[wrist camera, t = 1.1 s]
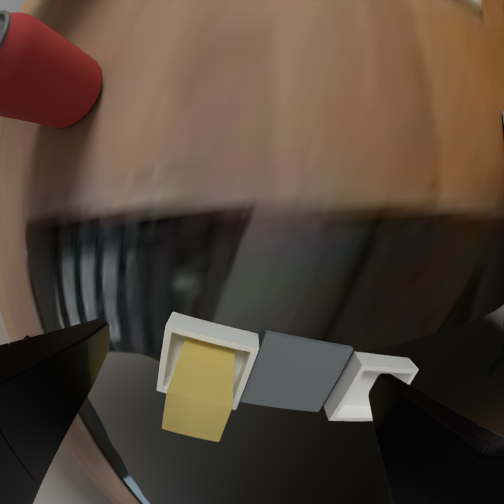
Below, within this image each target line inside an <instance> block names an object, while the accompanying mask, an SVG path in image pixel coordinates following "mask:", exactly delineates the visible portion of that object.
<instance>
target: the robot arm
mask: <svg viewBox="0 0 504 504" xmlns="http://www.w3.org/2000/svg"><path fill="white" fill-rule="evenodd" d="M109 346H110V340H109V324H108V323H107V322H104V321H101V320H98V319H96V320H92V321H88V322H85V323H81V324H78V325H74V326H71V327H67V328H63V329H60V330H56V331H52V332H49V333H45V334H41V335H37V336H34V337H29V336H26V337H24V339H22V340H19V341H15V342H11V343H9V344H8V343H7V344H3V345H0V504H33V502H34V499H35V497H36V495H37V493H38V490H39V488H40V486H41V483H42V481H43V479H44V477H45V475H46V473H47V471H48V468H49V466H50V464H51V462H52V460H53V458H54V456H55V454H56V452H57V450H58V448H59V446H60V444H61V442H62V441H63V439H64V437H65V435H66V433H67V431H68V429H69V428H70V426H71V424H72V422H73V420H74V418H75V417H76V415H77V413H78V411H79V409H80V408H81V406H82V404H83V402H84V401H85V399H86V397H87V396H88V394H89V392H90V390H91V388H92V386H93V384H94V382H95V380H96V378H97V375H98V373H99V371H100V368H101V366H102V364H103V361H104V359H105V357H106V355H107V353H108V350H109ZM368 397H369V403H370V408H371V413H372V419H373V425H374V430H375V434H376V438H377V442H378V445H379V449H380V453H381V456H382V460H383V464H384V468H385V472H386V476H387V480H388V484H389V489H390V493H391V498H392V502H393V504H504V436H502V435H500V434H497V433H495V432H493V431H491V430H489V429H486V428H484V427H482V426H480V425H478V424H476V423H475V422H473V421H471V420H469V419H467V418H465V417H464V416H461V415H460V414H458V413H456V412H455V411H453V410H451V409H449V408H448V407H446V406H444V405H443V404H441V403H439V402H437V401H435V400H434V399H432V398H430V397H429V396H427V395H425V394H424V393H422V392H420V391H419V390H417V389H415V388H414V387H412V386H410V385H409V384H407V383H405V382H404V381H402V380H400V379H399V378H397V377H395V376H394V375H392V374H389V373H381V374H379V375H378V377H377V378H376V380H375V382H374V384H373V385H372V387H371V389H370V391H369V395H368Z"/></svg>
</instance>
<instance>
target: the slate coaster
mask: <svg viewBox="0 0 504 504" xmlns="http://www.w3.org/2000/svg"><path fill="white" fill-rule="evenodd" d="M352 351H353V348H352V346H348V345H342V344H336V343H330V342H324V341H319V340H313V339H308V338H303V337H298V336H293V335H288V334H283V333H278V332H274V331H269V330H265V333H264V336H263V338H262V341H261V344H260V347H259V350H258V353H257V356H256V359H255V361H254V364H253V367H252V369H251V372H250V375H249V377H248V380H247V382H246V385H245V388H244V390H243V393H242V395H241V398H240V402H244V403H250V404H256V405H262V406H269V407H277V408H284V409H292V410H302V411H313V412H318V411H319V410H320V408H321V407H322V405H323V403H324V401H325V400H326V398H327V396H328V395H329V393H330V392H331V390H332V388H333V386H334V384H335V383H336V381H337V379H338V377H339V376H340V374H341V372H342V370H343V368H344V366H345V364H346V363H347V361H348V359H349V357H350V355H351V353H352Z"/></svg>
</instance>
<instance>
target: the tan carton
mask: <svg viewBox="0 0 504 504" xmlns="http://www.w3.org/2000/svg"><path fill="white" fill-rule="evenodd" d="M234 356H235V349H234V348H230V347H225V346H221V345H217V344H213V343H209V342H205V341H202V340H198V339H194V338H191V337H187V336H186V338H185V341H184V343H183V346H182V349H181V352H180V355H179V358H178V361H177V364H176V366H175V369H174V372H173V375H172V378H171V381H170V384H169V387H168V390H167V395H166V402H165V409H164V416H163V423H162V429H165V430H169V431H172V432H176V433H180V434H184V435H188V436H192V437H196V438H201V439H206V440H210V441H215V442H219V440H220V438H221V435H222V433H223V430H224V427H225V425H226V423H227V420H228V417H229V415H230V412H231V410H232V404H233V379H234Z"/></svg>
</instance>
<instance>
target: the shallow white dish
mask: <svg viewBox="0 0 504 504" xmlns="http://www.w3.org/2000/svg"><path fill="white" fill-rule="evenodd" d="M186 336H187V337H191V338H194V339H198V340H202V341H205V342H209V343H213V344H217V345H221V346H225V347H230V348H234V349H235V356H234V379H233V404H232V409H234V410H236V408H237V405H238V403H239V401H240V398H241V395H242V393H243V390H244V388H245V385H246V382H247V380H248V377H249V375H250V372H251V369H252V367H253V364H254V361H255V359H256V356H257V353H258V350H259V340H258V333H253V332H249V331H244V330H240V329H236V328H232V327H228V326H224V325H220V324H216V323H212V322H208V321H205V320H201V319H197V318H194V317H190V316H186V315H183V314H179V313H176V312H172V314H171V316H170V318H169V320H168V322H167V324H166V327H165V334H164V340H163V346H162V353H161V360H160V367H159V375H158V383H157V391H160V392H164V393H167V390H168V387H169V384H170V381H171V378H172V375H173V372H174V369H175V366H176V364H177V361H178V358H179V355H180V352H181V349H182V346H183V343H184V341H185V338H186Z"/></svg>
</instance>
